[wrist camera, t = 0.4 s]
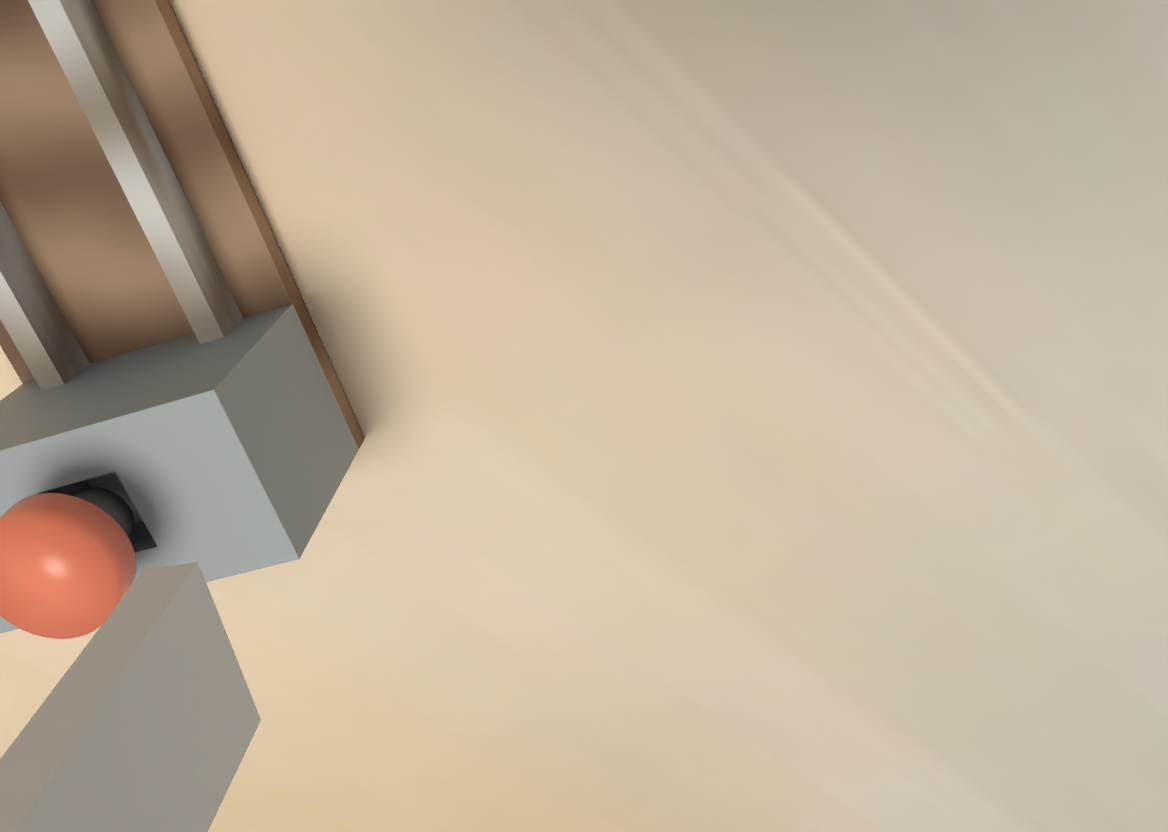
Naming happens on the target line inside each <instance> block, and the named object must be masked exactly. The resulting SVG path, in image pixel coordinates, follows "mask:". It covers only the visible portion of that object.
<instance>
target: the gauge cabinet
mask: <svg viewBox="0 0 1168 832" xmlns="http://www.w3.org/2000/svg"><path fill="white" fill-rule="evenodd" d="M358 450H359V449H358V447H357V444H356V442H355V440H354V438H353V436H352V433H351V431H350V429H349V427H348V425H347V422H346V420H345V418H344V416H343V414H342V411H341V409H340V407H339V405H338V403H337V400H336V398H335V396H334V394H333V392H332V389H331V387H330V385H329V383H328V381H327V378H326V376H325V374H324V372H323V370H322V367H321V365H320V363H319V361H318V358H317V356H316V354H315V352H314V350H313V347H312V345H311V343H310V341H309V339H308V336H307V334H306V332H305V330H304V328H303V325H302V323H301V321H300V319H299V317H298V314H297V312H296V310H295V308H294V306H293V304H290V305H286V306H283V307H280V308H276V309H273V310H269V311H266V312H263V313H259V314H256V315H253V316H249V317H246V318H243V319H242V320H241V321H240V322H239V323H238V324H237V325H236V326H235V327H234V328H233V329H232V330H231V331H230V332H229V333H228V334H227V335H226V336H225V337H223V338H220V339H217V340H213V341H210V342H207V343H203V344H200V343H199V341H198V339H197V337H196V335H195V333H192V334H189V335H186V336H182V337H179V338H175V339H172V340H169V341H165V342H162V343H159V344H155V345H152V346H149V347H145V348H142V349H139V350H135V351H132V352H128V353H125V354H122V355H118V356H115V357H112V358H108V359H105V360H102V361H98V362H95V363H92V364H89V365H88V366H87V367H86V368H84V369H83V370H82V371H81V372H79V373H78V374H77V375H76V376H74V377H73V378H72V379H71V380H69V381H68V382H67V383H66V384H64V385H61V386H58V387H54V388H51V389H47V390H44V391H42V390H41V389H40V387H39V385H38V383H37V382H36V380H34V381H31V382H28V383H24V384H22V385H21V386H20V387H18V388H17V389H16V390H14V391H13V392H12V393H10V394H9V395H8V396H6V397H5V398H4V399H2V400H1V401H0V517H1V516H2V515H3V514H4V513H5V512H6V511H7V510H8V509H9V508H10V507H11V506H13V505H14V504H15V503H17V502H18V501H20V500H22V499H24V498H26V497H29V496H32V495H36V494H41V493H59V494H66V495H70V496H74V495H75V494H76V493H77V492H79V491H80V490H82V489H85V488H90V487H99V488H104V489H107V490H110V491H112V492H114V493H116V494H117V495H119V496H120V497H121V498H123V499H124V500H125V501H126V503H127V504H128V505H129V507H130V508H131V510H132V513H133V516H134V527H133V530H132V532H131V534H130V535H129V536H128V538H129V540H130V542H131V544H132V546H133V549H134V552H135V557H136V566H137V568H136V576H135V579H134V582H135V581H136V580H137V578H138V577H139V576H140V574H141V573H142V572H143V570H144V569H147V568H155V567H163V566H171V565H179V564H187V563H195V562H198V564H199V566H200V569H201V571H202V574H203V576H204V579H205V581H206V582H208V581H213V580H217V579H221V578H225V577H229V576H233V575H237V574H241V573H245V572H249V571H253V570H257V569H261V568H265V567H269V566H273V565H277V564H281V563H285V562H289V561H293V560H297V559H299V558H300V557H301V555H302V553H303V551H304V549H305V547H306V546H307V544H308V542H309V540H310V538H311V536H312V535H313V533H314V531H315V529H316V527H317V525H318V523H319V522H320V520H321V518H322V516H323V514H324V512H325V511H326V509H327V507H328V505H329V503H330V501H331V500H332V498H333V496H334V494H335V492H336V490H337V488H338V487H339V485H340V483H341V481H342V479H343V477H344V476H345V474H346V472H347V470H348V468H349V466H350V465H351V463H352V461H353V459H354V457H355V455H356V453H357V452H358ZM134 582H133V584H134ZM133 584H132V585H133ZM16 629H20V628H18V627H16V626H14V625H13V624H11V623H9V622H8V621H6V620H5V619H4V618H2V617H1V616H0V633H4V632H8V631H12V630H16Z"/></svg>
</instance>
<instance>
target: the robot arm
mask: <svg viewBox="0 0 1168 832" xmlns="http://www.w3.org/2000/svg"><path fill="white" fill-rule="evenodd" d="M260 720H261V719H260V716H259V714H258V711H257V709H256V706H255V704H254V701H253V699H252V696H251V694H250V691H249V689H248V686H247V684H246V681H245V679H244V676H243V674H242V671H241V669H240V666H239V664H238V661H237V659H236V656H235V654H234V651H233V649H232V646H231V644H230V641H229V639H228V636H227V634H226V631H225V629H224V626H223V624H222V621H221V619H220V616H219V614H218V611H217V609H216V606H215V604H214V601H213V599H212V596H211V594H210V591H209V589H208V586H207V584H206V581H205V579H204V576H203V574H202V571H201V569H200V566H199V564H198V562H195V563H187V564H179V565H171V566H163V567H155V568H147V569H144V570H143V572H142V573H141V574H140V576H139V577H138V578H137V580H136V581H135V582H134V584H133V585H132V586H131V588H130V589H129V590H128V592H127V593H126V594H125V596H124V597H123V598H122V599H121V601H120V602H119V603H118V605H117V606H116V607H115V609H114V610H113V611H112V613H111V614H110V615H109V617H108V618H107V619H106V621H105V622H104V623H103V625H102V626H101V627H100V628H99V630H98V631H97V632H96V634H95V635H94V636H93V638H92V639H91V640H90V642H89V643H88V644H87V646H86V647H85V648H84V650H83V651H82V652H81V654H80V655H79V656H78V657H77V659H76V660H75V661H74V663H73V664H72V665H71V667H70V668H69V669H68V671H67V672H66V673H65V675H64V676H63V677H62V679H61V680H60V681H59V683H58V684H57V685H56V687H55V688H54V689H53V690H52V692H51V693H50V694H49V696H48V697H47V698H46V700H45V701H44V702H43V704H42V705H41V706H40V708H39V709H38V710H37V712H36V713H35V714H34V716H33V717H32V718H31V719H30V721H29V722H28V723H27V725H26V726H25V727H24V729H23V730H22V731H21V733H20V734H19V735H18V737H17V738H16V739H15V741H14V742H13V743H12V745H11V746H10V747H9V748H8V750H7V751H6V752H5V754H4V755H3V756H2V758H1V759H0V832H208V830H209V828H210V825H211V823H212V821H213V819H214V817H215V815H216V813H217V811H218V809H219V807H220V804H221V802H222V800H223V798H224V796H225V794H226V792H227V790H228V788H229V785H230V783H231V781H232V779H233V777H234V775H235V773H236V771H237V769H238V767H239V764H240V762H241V760H242V758H243V756H244V754H245V752H246V750H247V748H248V746H249V743H250V741H251V739H252V737H253V735H254V733H255V731H256V729H257V727H258V725H259V722H260Z"/></svg>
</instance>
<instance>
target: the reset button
mask: <svg viewBox="0 0 1168 832" xmlns="http://www.w3.org/2000/svg"><path fill="white" fill-rule="evenodd" d="M133 527H134V516H133V513H132V510H131V508H130V507H129V505H128V504H127V503H126V501H125V500H124V499H123V498H121V497H120V496H119V495H117V494H116V493H114V492H112V491H110V490H107V489H104V488H99V487H90V488H85V489H82V490H80V491H79V492H77V493H76V494H75V495H74V496H70V495H66V494H59V493H41V494H36V495H32V496H29V497H26V498H24V499H22V500H20V501H18V502H17V503H15V504H14V505H13V506H11V507H10V508H9V509H8V510H7V511H6V512H5V513H4V514H3V515H2V516H1V517H0V616H1V617H2V618H4V619H5V620H6V621H8V622H9V623H11V624H13V625H14V626H16V627H18V628H20V629H22V630H24V631H26V632H29V633H32V634H35V635H39V636H42V637H48V638H57V639H67V638H75V637H80V636H83V635H86V634H88V633H90V632H92V631H94V630H96V629H97V628H99V627H100V626H101V625H102V624H103V623H104V622H105V621H106V619H107V618H108V617H109V615H110V614H111V613H112V611H113V610H114V609H115V607H116V606H117V605H118V603H119V602H120V601H121V599H122V598H123V597H124V596H125V594H126V593H127V592H128V590H129V589H130V588H131V586H132V584H133V582H134V579H135V576H136V568H137V566H136V557H135V552H134V549H133V546H132V544H131V542H130V540H129V538H128V536H129V535H130V534H131V532H132V530H133Z"/></svg>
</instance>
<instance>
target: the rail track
mask: <svg viewBox="0 0 1168 832" xmlns="http://www.w3.org/2000/svg"><path fill="white" fill-rule="evenodd" d="M290 304H293V306H294V308H295V310H296V312H297V314H298V317H299V319H300V321H301V323H302V325H303V328H304V330H305V332H306V334H307V336H308V339H309V341H310V343H311V345H312V347H313V350H314V352H315V354H316V356H317V358H318V361H319V363H320V365H321V367H322V370H323V372H324V374H325V376H326V378H327V381H328V383H329V385H330V387H331V389H332V392H333V394H334V396H335V398H336V400H337V403H338V405H339V407H340V409H341V411H342V414H343V416H344V418H345V420H346V422H347V425H348V427H349V429H350V431H351V433H352V436H353V438H354V440H355V442H356V444H357V447H358V449H359V448H360V446H361V444H362V442H363V441H364V439H365V438H364V435H363V433H362V431H361V429H360V426H359V424H358V422H357V420H356V418H355V415H354V413H353V411H352V409H351V406H350V404H349V402H348V400H347V397H346V395H345V393H344V391H343V389H342V386H341V384H340V382H339V380H338V377H337V375H336V373H335V371H334V369H333V366H332V364H331V362H330V360H329V357H328V355H327V353H326V351H325V348H324V346H323V344H322V342H321V340H320V337H319V335H318V333H317V331H316V328H315V326H314V324H313V322H312V320H311V317H310V315H309V313H308V311H307V308H306V306H305V304H304V302H303V299H302V297H301V295H300V293H299V291H298V288H297V286H296V284H295V282H294V279H293V277H292V275H291V273H290V271H289V268H288V266H287V264H286V262H285V259H284V257H283V255H282V253H281V250H280V248H279V246H278V244H277V242H276V239H275V237H274V235H273V233H272V230H271V228H270V226H269V224H268V222H267V219H266V217H265V215H264V213H263V210H262V208H261V206H260V204H259V201H258V199H257V197H256V195H255V193H254V190H253V188H252V186H251V184H250V181H249V179H248V177H247V175H246V173H245V170H244V168H243V166H242V164H241V161H240V159H239V157H238V155H237V152H236V150H235V148H234V146H233V144H232V141H231V139H230V137H229V135H228V132H227V130H226V128H225V126H224V124H223V121H222V119H221V117H220V115H219V112H218V110H217V108H216V106H215V103H214V101H213V99H212V97H211V95H210V92H209V90H208V88H207V86H206V83H205V81H204V79H203V77H202V74H201V72H200V70H199V68H198V66H197V63H196V61H195V59H194V57H193V54H192V52H191V50H190V48H189V46H188V43H187V41H186V39H185V37H184V34H183V32H182V30H181V28H180V25H179V23H178V21H177V19H176V17H175V14H174V12H173V10H172V8H171V5H170V3H169V1H168V0H0V345H1V347H2V349H3V350H4V352H5V354H6V356H7V357H8V359H9V361H10V362H11V364H12V366H13V368H14V369H15V371H16V373H17V374H18V376H19V378H20V380H21V381H22V383H23V384H24V383H28V382H31V381H34V380H36V382H37V383H38V385H39V387H40V389H41V390H42V391H44V390H47V389H51V388H54V387H58V386H61V385H64V384H66V383H67V382H68V381H69V380H71V379H72V378H73V377H74V376H76V375H77V374H78V373H79V372H81V371H82V370H83V369H84V368H86V367H87V366H88V365H89V364H92V363H95V362H98V361H102V360H105V359H108V358H112V357H115V356H118V355H122V354H125V353H128V352H132V351H135V350H139V349H142V348H145V347H149V346H152V345H155V344H159V343H162V342H165V341H169V340H172V339H175V338H179V337H182V336H186V335H189V334H192V333H195V335H196V337H197V339H198V341H199V343H200V344H203V343H207V342H210V341H213V340H217V339H220V338H223V337H225V336H226V335H227V334H228V333H229V332H230V331H231V330H232V329H233V328H234V327H235V326H236V325H237V324H238V323H239V322H240V321H241V320H242V319H243V318H246V317H249V316H253V315H256V314H259V313H263V312H266V311H269V310H273V309H276V308H280V307H283V306H286V305H290Z"/></svg>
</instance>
